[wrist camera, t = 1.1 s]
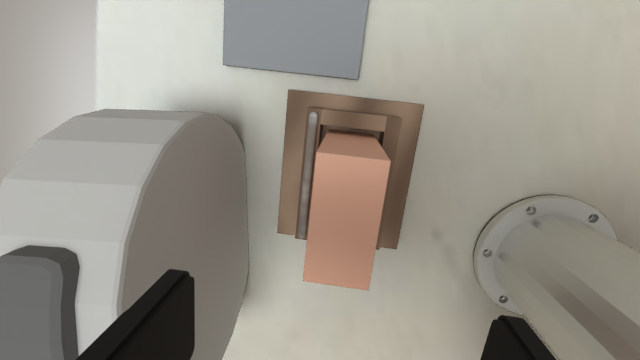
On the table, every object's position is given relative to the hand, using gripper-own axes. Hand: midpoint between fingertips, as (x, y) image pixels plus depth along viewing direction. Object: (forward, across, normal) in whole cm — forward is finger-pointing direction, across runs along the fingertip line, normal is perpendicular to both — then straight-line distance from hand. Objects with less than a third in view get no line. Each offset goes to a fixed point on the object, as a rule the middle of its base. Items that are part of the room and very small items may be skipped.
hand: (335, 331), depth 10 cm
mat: (+22, +6, -14) cm, 26 cm away
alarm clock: (+22, +13, +6) cm, 26 cm away
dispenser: (+21, 0, 0) cm, 21 cm away
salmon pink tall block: (+20, 0, 0) cm, 20 cm away
